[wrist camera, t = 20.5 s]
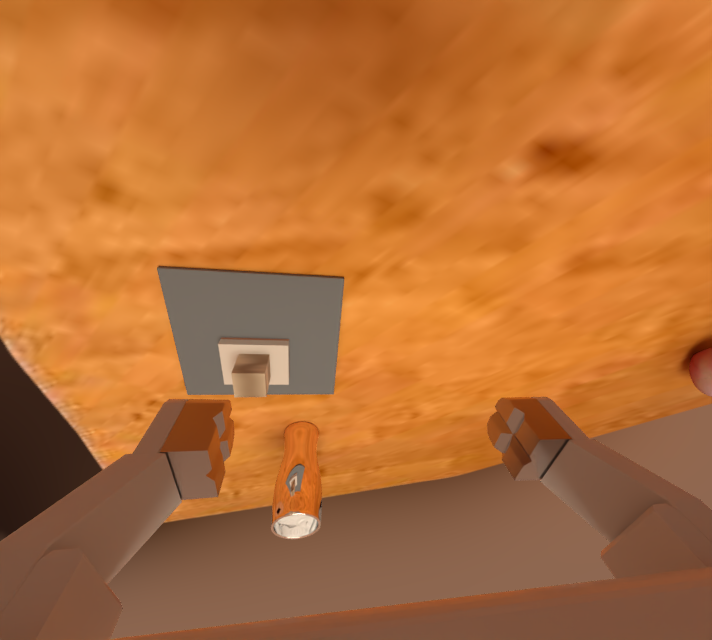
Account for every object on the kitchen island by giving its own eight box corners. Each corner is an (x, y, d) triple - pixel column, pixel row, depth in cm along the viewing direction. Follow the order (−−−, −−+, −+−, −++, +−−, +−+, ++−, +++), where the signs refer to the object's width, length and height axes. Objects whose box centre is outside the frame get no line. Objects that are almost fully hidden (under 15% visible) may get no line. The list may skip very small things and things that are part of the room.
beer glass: (299, 413, 49) (292, 507, 36) (329, 430, 52) (333, 522, 39) (273, 435, 51) (258, 531, 38) (303, 450, 54) (299, 544, 41)
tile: (288, 345, 39) (218, 344, 38) (288, 384, 43) (224, 384, 41) (289, 339, 41) (221, 337, 39) (289, 377, 44) (227, 377, 43)
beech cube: (269, 354, 40) (264, 373, 36) (270, 376, 41) (266, 396, 38) (238, 353, 39) (231, 373, 35) (241, 376, 41) (234, 397, 37)
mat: (343, 277, 37) (344, 278, 37) (333, 391, 47) (333, 394, 47) (159, 266, 34) (156, 268, 34) (189, 391, 44) (187, 394, 43)
